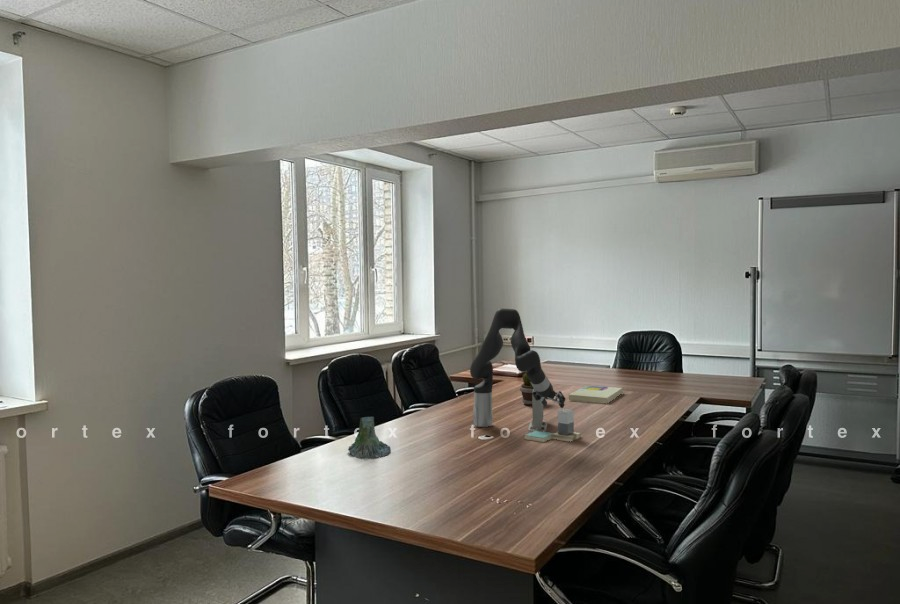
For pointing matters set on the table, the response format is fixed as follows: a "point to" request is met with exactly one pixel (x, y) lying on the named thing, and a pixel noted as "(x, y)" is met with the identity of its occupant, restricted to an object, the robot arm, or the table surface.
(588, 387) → the puzzle box
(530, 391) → the flowerpot
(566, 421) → the grey rectangular block
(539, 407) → the network device
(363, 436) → the tree stump
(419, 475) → the table surface
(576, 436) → the stand
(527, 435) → the stand
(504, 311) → the robot arm
